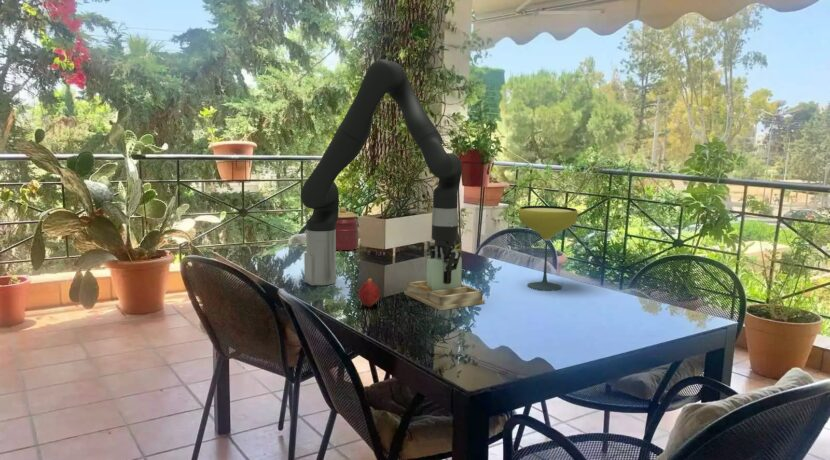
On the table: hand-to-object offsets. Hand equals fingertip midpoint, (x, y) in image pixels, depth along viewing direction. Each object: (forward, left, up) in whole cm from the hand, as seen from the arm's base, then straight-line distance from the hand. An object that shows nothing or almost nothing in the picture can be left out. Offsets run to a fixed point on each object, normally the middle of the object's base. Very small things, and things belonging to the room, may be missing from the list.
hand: (443, 282), depth 179 cm
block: (0, 0, -2) cm, 2 cm away
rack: (0, 0, -5) cm, 5 cm away
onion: (-23, +2, -5) cm, 24 cm away
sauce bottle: (+18, +23, -5) cm, 30 cm away
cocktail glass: (+37, -2, -5) cm, 37 cm away
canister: (+7, +89, -5) cm, 89 cm away
